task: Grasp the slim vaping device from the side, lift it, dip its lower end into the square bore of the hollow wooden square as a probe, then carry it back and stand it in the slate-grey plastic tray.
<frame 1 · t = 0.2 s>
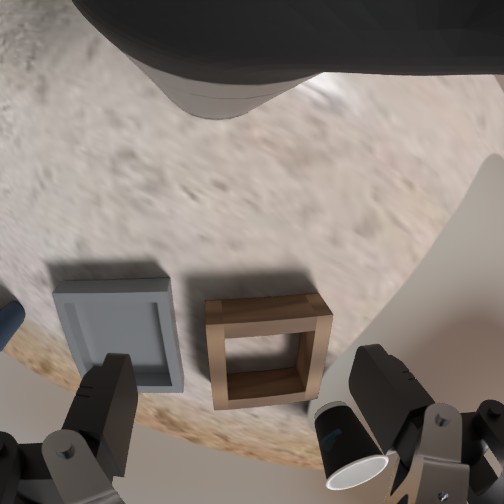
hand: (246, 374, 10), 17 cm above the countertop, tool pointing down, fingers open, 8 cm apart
vaping device: (12, 312, 26), on the countertop
tray: (124, 333, 29), on the countertop
hollow wooden square: (262, 343, 31), on the countertop
dixie cup: (330, 411, 38), on the countertop
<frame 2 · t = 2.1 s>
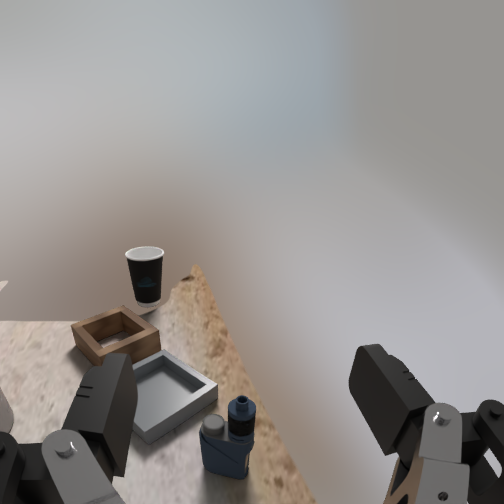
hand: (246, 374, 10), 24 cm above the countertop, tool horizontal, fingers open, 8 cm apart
vaping device: (226, 468, 27), on the countertop
tray: (157, 398, 37), on the countertop
hollow wooden square: (116, 348, 46), on the countertop
dixie cup: (148, 302, 63), on the countertop
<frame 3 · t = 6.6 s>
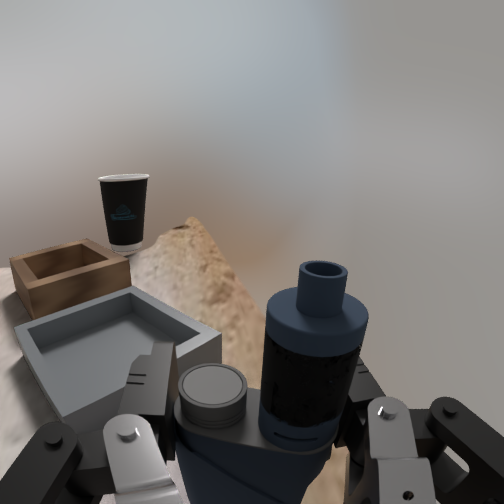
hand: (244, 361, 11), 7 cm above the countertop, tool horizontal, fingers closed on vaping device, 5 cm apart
tray: (112, 362, 20), on the countertop
hollow wooden square: (68, 293, 29), on the countertop
dixie cup: (126, 248, 46), on the countertop
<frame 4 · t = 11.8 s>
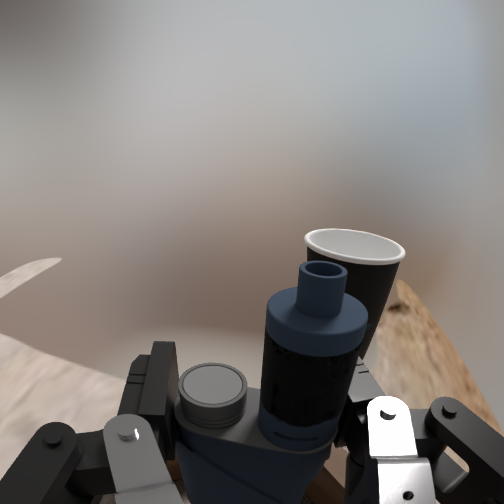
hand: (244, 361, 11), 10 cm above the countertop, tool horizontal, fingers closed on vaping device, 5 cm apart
dixie cup: (332, 360, 26), on the countertop
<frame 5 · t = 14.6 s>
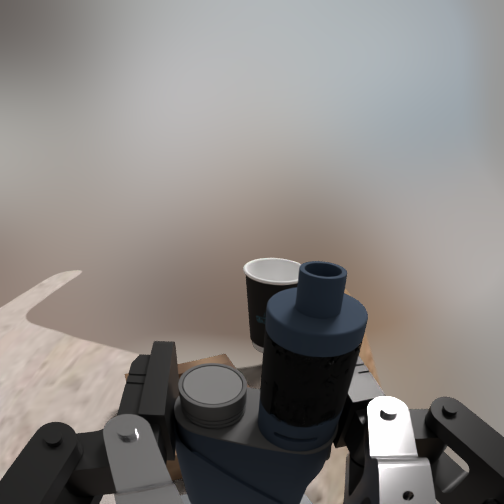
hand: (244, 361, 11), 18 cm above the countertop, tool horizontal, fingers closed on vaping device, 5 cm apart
hollow wooden square: (196, 426, 27), on the countertop
dixie cup: (269, 344, 41), on the countertop
when the fingers open (8 cm above the countertop, at t = 17.1 s): vaping device stays where it is, resting on tray.
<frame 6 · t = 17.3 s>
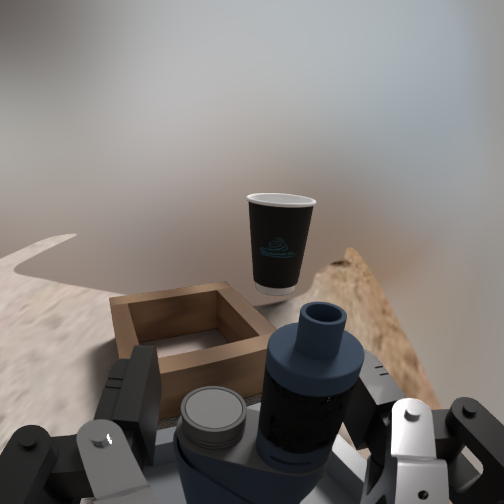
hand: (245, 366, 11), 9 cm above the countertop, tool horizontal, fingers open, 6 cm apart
hollow wooden square: (189, 361, 24), on the countertop
dixie cup: (274, 288, 38), on the countertop
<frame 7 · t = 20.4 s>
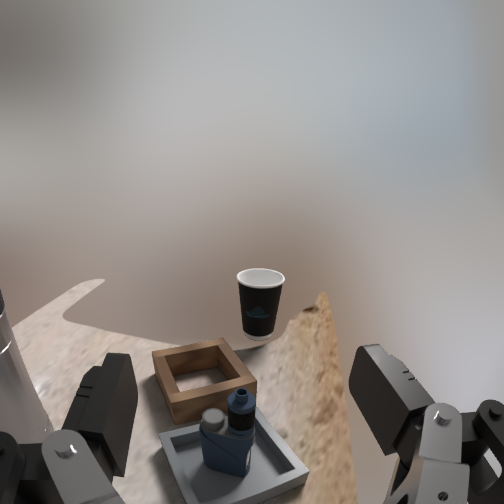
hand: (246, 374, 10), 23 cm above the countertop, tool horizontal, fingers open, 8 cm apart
vaping device: (228, 466, 27), resting on tray
tray: (230, 467, 27), on the countertop
hollow wooden square: (202, 388, 40), on the countertop
dixie cup: (258, 334, 55), on the countertop
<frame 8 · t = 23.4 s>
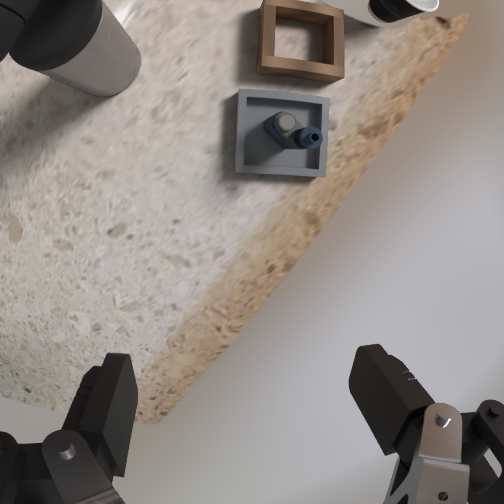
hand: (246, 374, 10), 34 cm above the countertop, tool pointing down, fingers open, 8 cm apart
vaping device: (278, 133, 40), resting on tray
tray: (279, 133, 40), on the countertop
hollow wooden square: (297, 43, 36), on the countertop
dixie cup: (380, 11, 35), on the countertop
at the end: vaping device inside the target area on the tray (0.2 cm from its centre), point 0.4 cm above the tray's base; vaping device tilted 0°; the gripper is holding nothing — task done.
